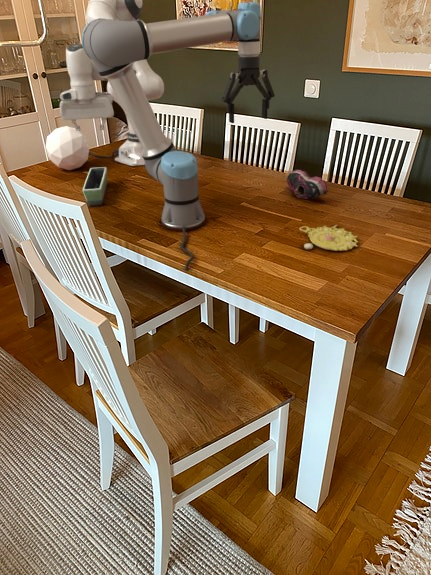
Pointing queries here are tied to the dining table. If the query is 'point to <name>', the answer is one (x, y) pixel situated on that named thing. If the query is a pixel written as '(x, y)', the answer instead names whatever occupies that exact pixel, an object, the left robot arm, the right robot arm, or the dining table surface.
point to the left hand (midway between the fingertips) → (90, 130)
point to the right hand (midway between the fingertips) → (248, 120)
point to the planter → (95, 186)
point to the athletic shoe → (306, 185)
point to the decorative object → (330, 238)
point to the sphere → (67, 148)
